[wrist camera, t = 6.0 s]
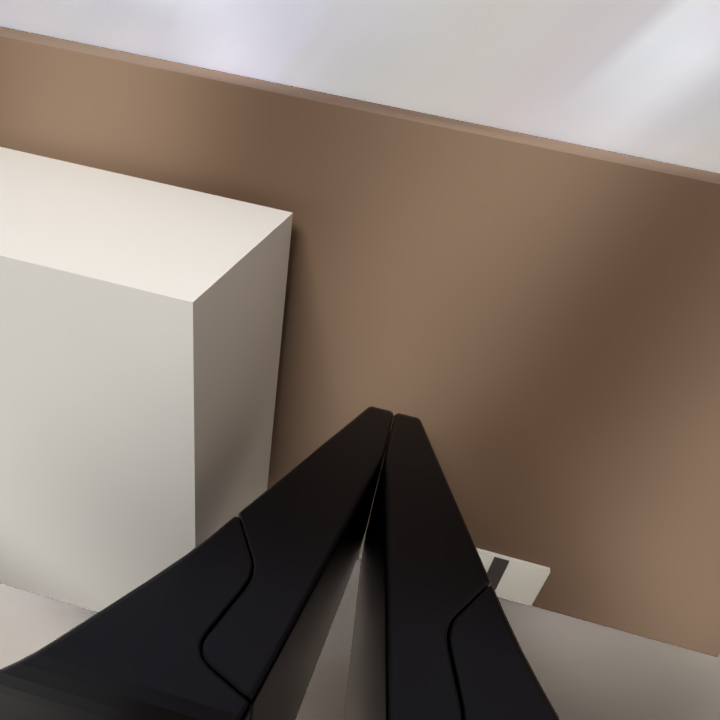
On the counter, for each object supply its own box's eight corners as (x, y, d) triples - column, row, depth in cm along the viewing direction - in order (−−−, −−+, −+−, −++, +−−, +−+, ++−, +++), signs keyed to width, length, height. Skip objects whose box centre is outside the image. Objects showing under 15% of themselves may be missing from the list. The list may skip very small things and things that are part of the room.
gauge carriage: (292, 212, 8) (192, 301, 5) (260, 556, 12) (196, 703, 9) (-186, 104, 8) (-497, 134, 6) (-57, 466, 13) (-201, 580, 10)
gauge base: (1029, 237, 7) (1113, 267, 6) (700, 614, 12) (719, 663, 11) (-346, -45, 9) (-443, -55, 8) (-157, 380, 14) (-205, 405, 13)
